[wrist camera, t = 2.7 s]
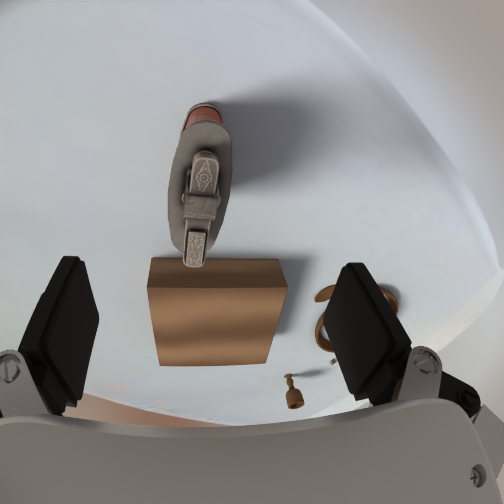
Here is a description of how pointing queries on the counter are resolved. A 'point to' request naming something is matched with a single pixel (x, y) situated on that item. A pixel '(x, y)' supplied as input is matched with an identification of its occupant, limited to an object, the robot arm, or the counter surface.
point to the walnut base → (215, 310)
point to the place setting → (324, 344)
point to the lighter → (199, 183)
